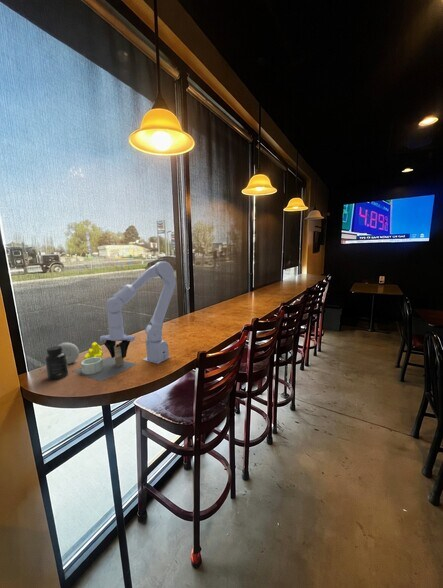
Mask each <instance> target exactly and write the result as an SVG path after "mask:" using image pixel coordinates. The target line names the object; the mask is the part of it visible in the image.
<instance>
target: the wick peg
mask: <svg viewBox="0 0 443 588" xmlns="http://www.w3.org/2000/svg"><path fill="white" fill-rule="evenodd" d="M114 354H115V357H114V358H115V364H116V366H120V365H124V361H125V360H124V358H122V354H121V348H120V345H119V343H117V344H116V345H115V346H114Z"/></svg>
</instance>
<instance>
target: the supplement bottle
mask: <svg viewBox="0 0 443 588" xmlns="http://www.w3.org/2000/svg"><path fill="white" fill-rule="evenodd" d="M62 351H63V350H62V347H61V346H58V345H55V346H51V347H49V348H47V349H46V353H47V355H46V357H45V360H44V361H45V362H44V363H45V369H46V375H47V380H49V381H57V380H62V379H64V378H66V377H67V376H69V367H68V364H67V359H66V357H67V355H66V353H65V352H64V351H63V352H62Z"/></svg>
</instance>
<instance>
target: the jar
mask: <svg viewBox="0 0 443 588" xmlns="http://www.w3.org/2000/svg"><path fill="white" fill-rule="evenodd" d="M102 359H103V358H102V357H92V358H88V359H85V358H84V359H83V360H81V363H80V364H81V365H80V366H81V367H80V368H82V373H83V374H86V375H89V374H95V373H98V372H100V371H101V370H103V362H102Z"/></svg>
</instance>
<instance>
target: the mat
mask: <svg viewBox="0 0 443 588" xmlns="http://www.w3.org/2000/svg"><path fill="white" fill-rule="evenodd" d="M102 362H103V370H101V371H100V372H98V373H95V374H89V375H86V374H83V373H82V367H79V368H76V369H74V370H72V371H71V372H73V373H75V374H78V375H81V376H84V377H87V378H89V379H92V380H95V381H98V382H104V381H105V380H107V379H109V378H112V377H114V376H115V375H117V374H120V373H122V372H125V371H127V370H128V369H130V368H133V367H135V366H137V365H138V363H134V362H130V361H127V360H124V365H120V366H116V364H115V357H114V358H112V357H111V356H108V357H105V358H102Z"/></svg>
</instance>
